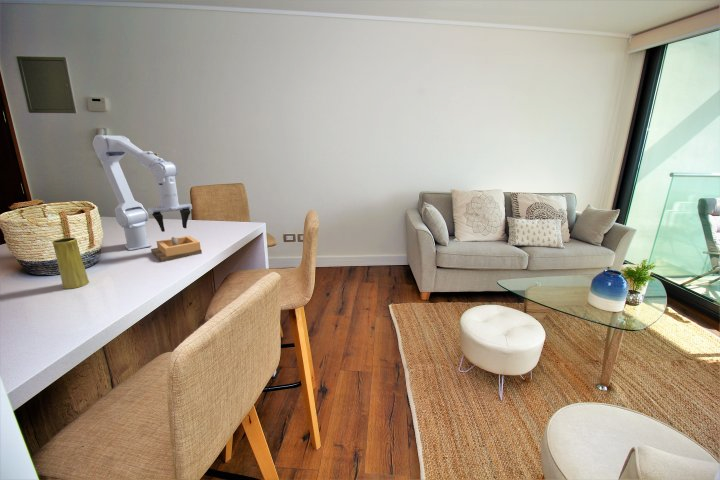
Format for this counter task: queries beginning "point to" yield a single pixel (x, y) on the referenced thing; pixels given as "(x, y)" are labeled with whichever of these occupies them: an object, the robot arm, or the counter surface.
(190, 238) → the wooden square frame
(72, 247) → the vase
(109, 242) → the counter surface
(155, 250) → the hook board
